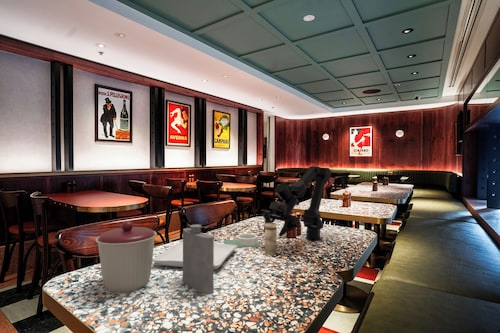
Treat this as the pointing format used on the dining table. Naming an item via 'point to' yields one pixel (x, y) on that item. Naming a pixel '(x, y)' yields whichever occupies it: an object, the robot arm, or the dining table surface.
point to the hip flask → (198, 259)
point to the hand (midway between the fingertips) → (271, 234)
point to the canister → (126, 257)
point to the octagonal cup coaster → (244, 241)
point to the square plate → (176, 255)
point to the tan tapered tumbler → (270, 238)
